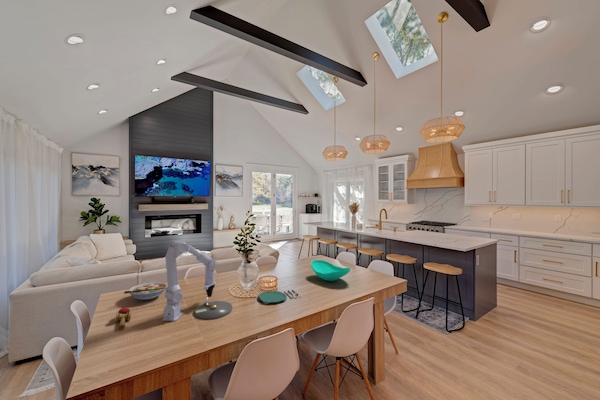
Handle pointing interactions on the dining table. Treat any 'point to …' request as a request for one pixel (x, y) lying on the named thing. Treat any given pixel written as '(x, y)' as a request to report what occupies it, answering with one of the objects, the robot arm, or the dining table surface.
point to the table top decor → (328, 270)
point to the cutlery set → (273, 296)
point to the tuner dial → (213, 310)
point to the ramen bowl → (147, 290)
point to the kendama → (123, 317)
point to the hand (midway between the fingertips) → (209, 296)
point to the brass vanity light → (208, 304)
